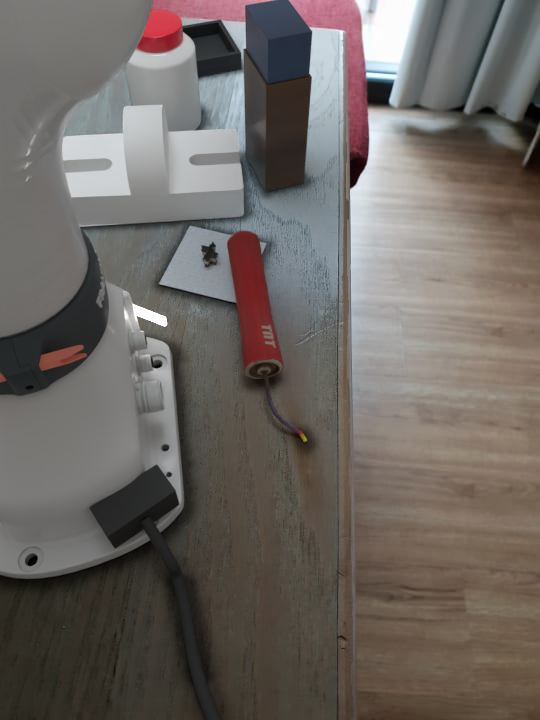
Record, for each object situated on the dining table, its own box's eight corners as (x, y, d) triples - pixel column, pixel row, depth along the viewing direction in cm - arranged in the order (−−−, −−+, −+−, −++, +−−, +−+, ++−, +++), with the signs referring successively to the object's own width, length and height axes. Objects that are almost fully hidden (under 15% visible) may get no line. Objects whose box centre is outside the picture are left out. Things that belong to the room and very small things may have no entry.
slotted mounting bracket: (71, 165, 66) (47, 88, 59) (237, 155, 67) (234, 80, 60) (63, 227, 61) (37, 152, 53) (244, 216, 62) (242, 141, 55)
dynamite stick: (219, 248, 57) (246, 446, 47) (235, 225, 55) (267, 427, 44) (261, 259, 59) (296, 450, 49) (278, 237, 57) (318, 433, 47)
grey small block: (241, 304, 55) (240, 290, 54) (158, 284, 56) (155, 270, 55) (266, 243, 60) (267, 229, 58) (189, 226, 61) (188, 211, 59)
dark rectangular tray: (241, 69, 77) (241, 52, 75) (192, 78, 75) (191, 62, 74) (221, 35, 81) (220, 19, 79) (174, 43, 80) (172, 27, 78)
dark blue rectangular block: (309, 76, 55) (312, 31, 52) (267, 84, 54) (268, 39, 51) (285, 42, 58) (287, -3, 55) (245, 49, 57) (245, 4, 54)
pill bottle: (198, 141, 69) (189, 44, 59) (129, 139, 69) (109, 42, 59) (204, 100, 73) (196, 4, 64) (139, 98, 73) (122, 2, 64)
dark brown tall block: (304, 183, 65) (312, 76, 55) (265, 192, 64) (266, 85, 54) (282, 147, 68) (286, 40, 58) (245, 155, 67) (243, 48, 57)
